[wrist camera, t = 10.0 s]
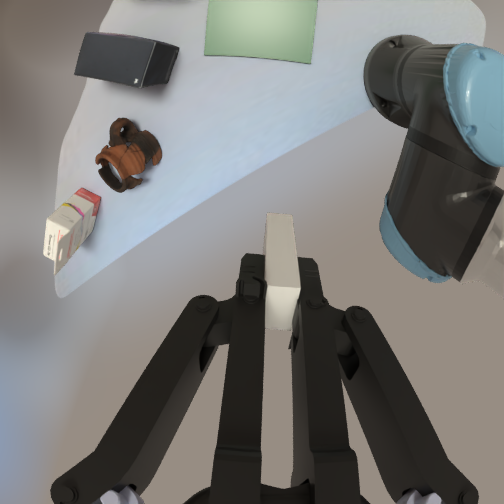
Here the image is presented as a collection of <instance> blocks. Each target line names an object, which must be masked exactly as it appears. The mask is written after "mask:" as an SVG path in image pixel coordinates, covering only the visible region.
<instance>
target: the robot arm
mask: <svg viewBox="0 0 504 504" xmlns="http://www.w3.org/2000/svg"><path fill="white" fill-rule="evenodd" d="M364 83H365V88H366V91H367V94H368V96H369V99H370V101H371V102H372V104H373V105H374V107H375V108H376V109H377V110H378V112H379V113H380V114H381V115H382V116H384V117H385V118H386V119H388V120H389V121H391V122H393V123H395V124H397V125H399V126H401V127H404V128H408V132H407V135H406V138H405V142H404V145H403V149H402V152H401V155H400V159H399V162H398V165H397V168H396V171H395V174H394V177H393V180H392V183H391V186H390V189H389V191H388V193H387V194H386V196H385V205H384V209H383V212H382V216H381V218H380V232H381V235H382V239H383V242H384V244H385V245H386V247H387V249H388V250H389V252H390V253H391V254H392V255H393V256H394V258H395V259H396V260H397V261H398V262H399V263H400V264H401V265H402V266H404V267H405V268H406V269H407V270H409V271H410V272H411V273H413V274H415V275H416V276H418V277H420V278H422V279H424V278H427V279H428V280H429V281H430V282H434V283H442V282H445V281H447V280H448V279H450V278H452V277H453V278H455V279H456V280H458V281H459V282H460V283H462V284H464V283H469V282H473V281H481V282H483V283H484V284H485V285H486V286H488V287H489V288H490V289H492V290H493V291H494V292H495V293H497V294H498V295H499V296H500V297H502V298H503V299H504V190H502V189H500V188H499V187H497V186H496V185H495V181H496V178H497V175H498V173H499V170H500V167H504V55H503V54H501V53H499V52H498V51H496V50H493V49H490V48H486V47H481V46H477V45H474V44H470V43H469V44H467V43H461V44H435V45H434V44H432V43H430V42H429V41H427V40H425V39H423V38H420V37H417V36H412V35H397V36H392V37H388V38H386V39H384V40H382V41H380V42H379V43H378V44H376V45H375V46H374V48H373V49H372V50H371V52H370V53H369V55H368V57H367V60H366V63H365V67H364ZM291 327H292V328H293V332H292V336H291V340H290V344H289V348H288V349H291V355H292V391H293V472H292V476H291V488H286V489H281V488H276V487H272V486H268V485H264V484H261V462H262V455H261V426H262V423H261V422H262V399H263V372H264V341H265V340H264V339H265V329H276V330H291ZM224 344H229V351H228V359H227V366H226V374H225V383H224V390H223V398H222V406H221V415H220V422H219V430H218V439H217V445H216V449H215V455H214V462H213V471H212V479H211V487H208V488H205V489H203V490H201V491H199V492H198V493H196V494H194V495H193V496H192V497H191V498H189V499H188V500H187V501H186V502H185V503H184V504H370V503H369V502H368V501H367V500H366V499H365V498H364V497H363V496H362V495H360V486H359V473H358V463H357V456H356V453H355V451H354V450H352V449H351V448H350V446H349V438H348V429H347V421H346V412H345V404H344V396H343V389H342V381H343V383H344V386H345V388H346V391H347V393H348V395H349V398H350V400H351V403H352V405H353V407H354V410H355V412H356V414H357V417H358V420H359V422H360V424H361V427H362V429H363V432H364V434H365V437H366V439H367V442H368V444H369V447H370V449H371V452H372V454H373V457H374V459H375V462H376V465H377V467H378V470H379V472H380V475H381V477H382V480H383V482H384V484H385V487H386V489H387V491H388V493H389V494H390V496H391V498H392V499H393V500H394V502H395V503H396V504H478V499H479V495H478V491H477V489H476V487H475V486H474V485H473V484H472V483H471V482H470V481H469V480H468V479H467V478H466V477H465V476H464V475H463V474H462V473H461V472H460V471H459V470H458V469H457V468H456V467H455V466H454V465H453V464H452V463H451V461H449V459H448V458H447V456H446V453H445V451H444V449H443V447H442V445H441V443H440V440H439V438H438V436H437V434H436V432H435V430H434V428H433V426H432V424H431V422H430V420H429V418H428V416H427V414H426V412H425V410H424V408H423V406H422V404H421V402H420V400H419V398H418V397H417V395H416V393H415V391H414V389H413V387H412V385H411V383H410V381H409V380H408V378H407V376H406V374H405V372H404V371H403V369H402V367H401V365H400V363H399V362H398V360H397V358H396V356H395V354H394V353H393V351H392V349H391V348H390V345H389V344H388V342H387V340H386V338H385V337H384V335H383V333H382V332H381V330H380V328H379V327H378V325H377V323H376V322H375V320H374V318H373V316H372V315H371V314H370V312H369V311H368V310H366V309H365V308H363V307H360V306H352V307H349V308H348V309H347V310H346V311H343V310H340V309H336V308H334V307H332V306H330V305H329V303H328V301H327V299H326V298H325V297H324V296H323V291H322V286H321V280H320V275H319V270H318V265H317V263H316V262H315V261H314V260H313V259H312V258H301V257H297V251H296V242H295V234H294V226H293V218H292V215H287V214H277V213H267V220H266V229H265V237H264V247H263V255H260V254H248V253H246V254H245V255H244V256H243V258H242V259H241V267H240V274H239V279H238V280H237V282H236V294H235V295H234V296H233V297H232V298H230V299H228V300H225V301H219V302H218V301H217V300H216V299H215V298H213V297H211V296H207V295H200V296H196V297H194V298H192V299H191V300H190V301H189V303H188V304H187V306H186V307H185V309H184V310H183V312H182V313H181V315H180V316H179V318H178V319H177V321H176V322H175V324H174V325H173V327H172V328H171V330H170V331H169V333H168V335H167V336H166V338H165V339H164V341H163V342H162V344H161V345H160V347H159V348H158V350H157V352H156V353H155V355H154V356H153V358H152V359H151V361H150V363H149V364H148V366H147V367H146V369H145V370H144V372H143V373H142V375H141V377H140V378H139V380H138V381H137V383H136V385H135V386H134V388H133V389H132V391H131V392H130V394H129V396H128V397H127V399H126V400H125V402H124V404H123V405H122V407H121V409H120V410H119V412H118V413H117V415H116V416H115V418H114V420H113V421H112V423H111V425H110V426H109V428H108V430H107V431H106V433H105V435H104V436H103V438H102V439H101V441H100V443H99V444H98V446H97V448H96V449H95V451H94V452H92V453H91V454H90V455H89V456H87V457H86V458H85V459H83V460H82V461H81V462H79V463H78V464H77V465H76V466H74V467H73V468H71V469H70V470H69V471H67V472H66V473H65V474H63V475H62V476H60V477H59V478H57V479H56V480H55V481H54V483H53V484H52V486H51V490H50V491H51V498H52V500H53V502H54V504H144V501H143V499H142V498H141V497H140V495H141V494H142V493H143V491H144V490H145V489H146V488H147V487H148V485H149V484H150V482H151V480H152V479H153V477H154V475H155V473H156V471H157V469H158V467H159V466H160V464H161V461H162V460H163V458H164V455H165V453H166V451H167V450H168V448H169V445H170V444H171V442H172V440H173V438H174V436H175V434H176V432H177V429H178V428H179V426H180V424H181V422H182V420H183V417H184V416H185V414H186V412H187V410H188V408H189V406H190V404H191V402H192V400H193V398H194V395H195V394H196V392H197V390H198V387H199V386H200V384H201V381H202V379H203V377H204V375H205V373H206V371H207V369H208V367H209V365H210V363H211V361H212V359H213V357H214V355H215V353H216V351H217V349H218V346H219V345H224ZM341 379H342V381H341Z"/></svg>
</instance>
